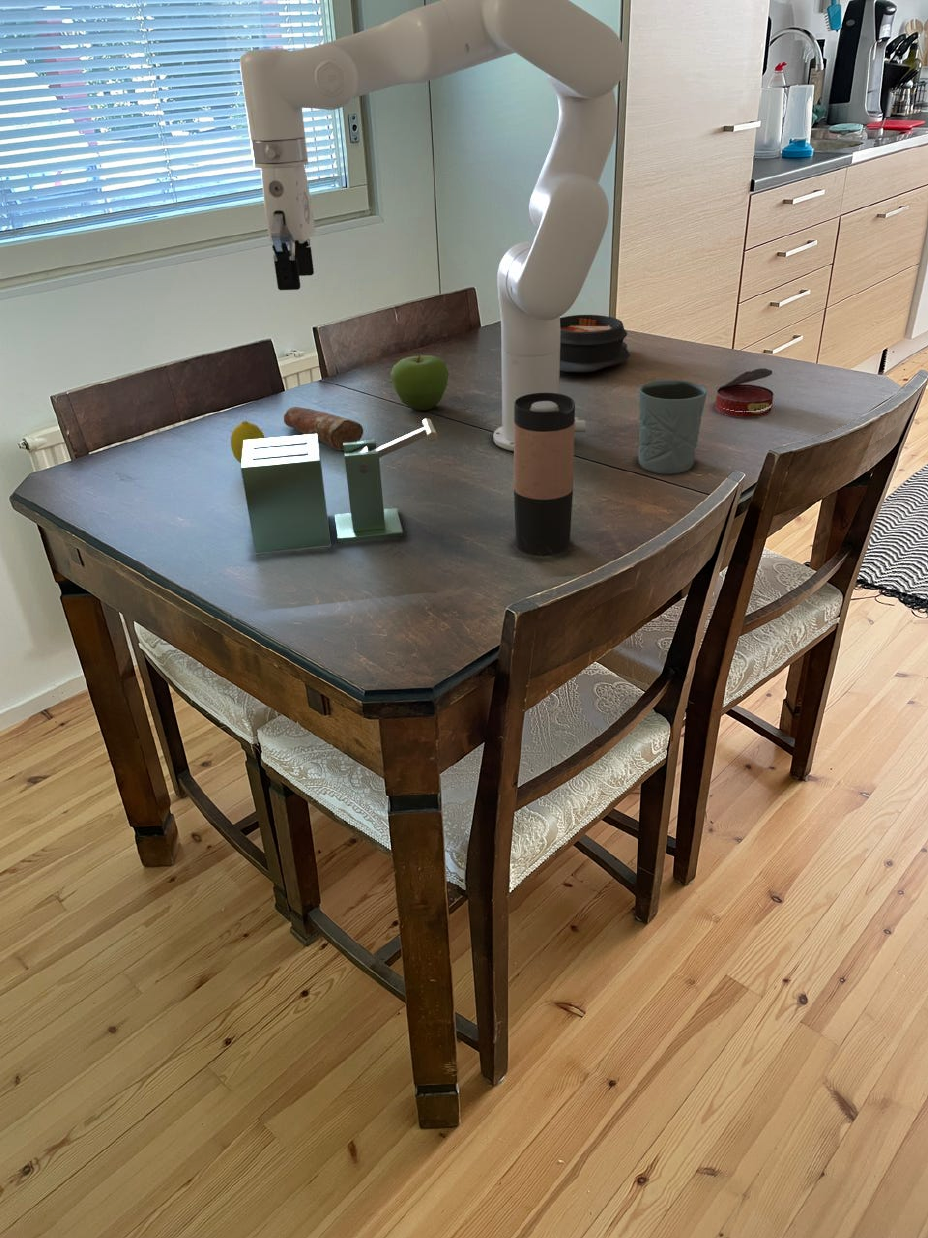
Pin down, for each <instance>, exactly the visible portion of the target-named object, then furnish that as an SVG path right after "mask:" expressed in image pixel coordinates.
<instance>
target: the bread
mask: <svg viewBox="0 0 928 1238" xmlns="http://www.w3.org/2000/svg"><path fill="white" fill-rule="evenodd" d="M283 422H284V424H285V425H286V426H287V427H289V428H291V429H293V430H295V431H297V432H299V433H300V434H302V435H310V434H318V442H320V443H321V444H324V445H326V446H327V447H329V448H331V449H334V450H336V451H344V446H343V443H347V442H358V441H361V439H362V437H363V434H364V428H363V425H361V423H359V422H357V421H355V420H353V419H350V418H347V417H344V416H341V415H336V414H332V413H328V412H325V411H319V410H314V409H311V408H305V407H300V406H291V407H290V408H288V409H287V410H286V412H285V413H284V415H283Z"/></svg>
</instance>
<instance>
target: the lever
mask: <svg viewBox="0 0 928 1238" xmlns="http://www.w3.org/2000/svg"><path fill="white" fill-rule="evenodd" d="M421 425H422V427H420V428H419V429H416V430H414V431H411V432H410V433H408V434H405V435H403V436H401V437H399V438H396V439H394V440H392V441H390V442H388V443H385V444H382V445H380V446H379V447H376V449H374V450H372V451H378V453H379V459H380V458H382V457H384V456H387V455H388V454H391V453H394V452H395V451H398V450H399V449H402V448H404V447H407V446H409V445H410V444H413V443H415V442H417V441H420V440H421V439H425V438H426V439H427V440H428V441H429V442H435V441H436V440H437V439H438V434H437V432H436V429H435V427H434V424H433V422H432V420H431V418H428V417H427V418H424V419H423V420H422V422H421ZM366 451H369V449H368V447H367V446H365V447H363V448H361V449H359V450H356V451H354V452H352V453H356V452H366Z"/></svg>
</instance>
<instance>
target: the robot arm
mask: <svg viewBox="0 0 928 1238" xmlns="http://www.w3.org/2000/svg"><path fill="white" fill-rule="evenodd" d="M513 54H516V55H518V56H520V57H521V58H523V59H524V60H526V61H527V62H528V63H530V64H532V65H533V66H535V67H536V68H538V69H539V70H541V71H542V72H544V73H545V75H546V79H547V80H548V82H549V84H550V86H551V87H552V89H553V91H554V93H555V96H556V99H557V103H558V105H557V106H558V120H557V126H556V129H555V133H554V136H553V137H552V138H553V139H552V142H551V145H550V148H549V150H548V153H547V156H546V158H545V160H544V163H543V166H542V168H541V171H540V173H539V176H538V179H537V181H536V184H535V186H534V188H533V191H532V193H531V196H530V200H529V204H528V213H529V218H530V220H531V222H532V225H533V226H534V227H535V228H536V229H537V232H536V234H535V237H534V240H533V241H531V240H529V241H522V242H517V243H516V244H515V245H514V244H513V246H511V247H510V248H508V250H507V251H506V252H505V253H504V254H503V256H502V258H501V260H500V262H499V264H498V267H497V276H496V282H497V283H496V284H497V296H498V305H499V315H500V316H499V317H500V334H501V335H500V336H501V340H500V342H501V344H500V345H501V348H500V351H501V352H500V353H501V357H500V358H501V362H500V363H501V418H502V419H501V426H500V427H498V428H496V429H495V430H494V432H493V436H492V437H493V438H492V439H493V442H494V443H495V445H496V446H498V447H499V448H501V449H504V450H507V451H511V452H514V404H515V401H516V400H517V399H518V398H520V397H522V396H524V395H528V394H534V393H557V394H560V374H561V371H560V318H561V317H563V315H564V314H566V313H567V312H568V311H569V310H570V309H571V308H572V307H573V305H574V304H575V302H576V300H577V299H578V298H579V295H580V293H581V291H582V288H583V286H584V284H585V281H586V279H587V277H588V274H589V272H590V270H591V267H592V265H593V263H594V261H595V258H596V256H597V253H598V251H599V249H600V246H601V243H602V241H603V240H604V236H605V233H606V230H607V228H608V222H609V216H610V209H609V208H610V207H609V201H608V196H607V194H606V192H605V189H604V188H603V187H602V186H601V185H600V184H599V182H600V180H601V177H602V175H603V172H604V171H605V170H604V169H605V167H606V163H607V162H608V158H609V155H610V152H611V150H612V147H613V145H614V144H613V143H614V140H615V136H616V131H617V124H618V111H617V102H616V96H615V95H616V94H615V91H614V89H615V88H616V87H617V86H618V84H619V82H620V81H621V79H622V77H623V75H624V71H625V68H626V67H625V66H626V53H625V48H624V45H623V42H622V40H621V39H620V36H619V35H618V34H617V33H616V31H615V30H613V29H612V28H611V27H610V26H609V25H607V24H605V23H604V22H603V21H601V20H600V19H599V18H597V17H595V16H593V15H592V14H591V13H589V12H588V11H586V10H585V9H582V8H581V7H580V6H578V5H576V4H575V3H574V2H573V1H570V0H439V1H434V2H432V3H429V4H426V5H422V6H419V7H416V8H415V9H412V10H409V11H405V12H403V13H402V14H400V15H398V16H396V17H394V18H392V19H391V20H388V21H386V22H384V23H381V24H378V25H376V26H372V27H371V28H367V29H365V30H362V31H359V32H358V31H357V32H356V33H353V34H350V35H347V36H344V37H341V38H337V39H334V40H332V41H328V42H325V43H322V44H319V45H318V44H317V45H314V46H313V47H308V48H302V49H297V50H287V49H284V48H283V49H282V48H269V49H254V50H248V51H245V52H243V53H242V54H241V56H240V59H239V70H240V71H239V72H240V78H241V85H242V92H243V99H244V106H245V112H246V113H245V114H246V120H247V127H248V133H249V139H250V147H251V155H252V160H253V167H254V168H257V169H260V175H261V176H260V177H261V188H262V196H263V205H264V206H263V208H264V215H265V222H266V223H265V224H266V228H267V229H266V230H267V234H268V240H269V241H270V242H271V243H272V246H271V248H272V251H273V253H272V255H273V263H274V264H273V265H274V270H275V271H274V272H275V277H276V278H275V279H276V284H277V289H278V290H279V291H298V290H300V289H301V280H300V277H304V276H305V277H306V276H313V275H314V274H315V271H314V260H313V253H312V247H311V239H310V238H311V237H312V236H313V235H314V234H315V231H316V226H315V219H314V213H313V207H312V201H311V194H310V187H309V181H308V177H307V171H306V168H305V166H306V165H308V164H309V157H308V148H307V139H306V131H305V125H304V124H305V123H304V115H303V108H304V109H315V110H316V109H317V110H325V111H334V110H339V109H342V108H343V107H345V106H347V105H348V104H349V103H350V102H351V100H353V99H355V98H359V97H362V96H364V95H367V94H371V93H374V92H377V91H380V90H384V89H388V88H391V87H395V86H400V85H407V84H421V83H427V82H429V81H433V80H438V79H441V78H444V77H447V76H449V75H452V74H455V73H458V72H461V71H464V70H467V69H470V68H473V67H477V66H478V65H482V64H486V63H488V62H491V61H494V60H497V59H500V58H503V57H506V56H509V55H513ZM586 422H587V421H586V420H579V417H578V416H575V428H574V433H586V424H587V423H586Z"/></svg>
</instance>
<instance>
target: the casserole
mask: <svg viewBox="0 0 928 1238" xmlns="http://www.w3.org/2000/svg"><path fill="white" fill-rule="evenodd" d="M627 336H628V332H627V330H626V329H625V327H624V323H623V322H622V320H620V319H618V318H617V317H616V318H615V317H612V316H607V315H599V314H574V315H568V316H561V317H560V372H562V373H564V372H565V373H579V374H580V373H581V374H582V373H591V372H596V371H599V370H601V369H606V368H609V367H612V366H616V365H618V364H621V363H623V362H626V361H627V360H628V359H629V358H630V356H631V354H630V353H631V352H630V351H629V350H628V344H627V343H626V342H624V340H625V338H626V337H627Z"/></svg>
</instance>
